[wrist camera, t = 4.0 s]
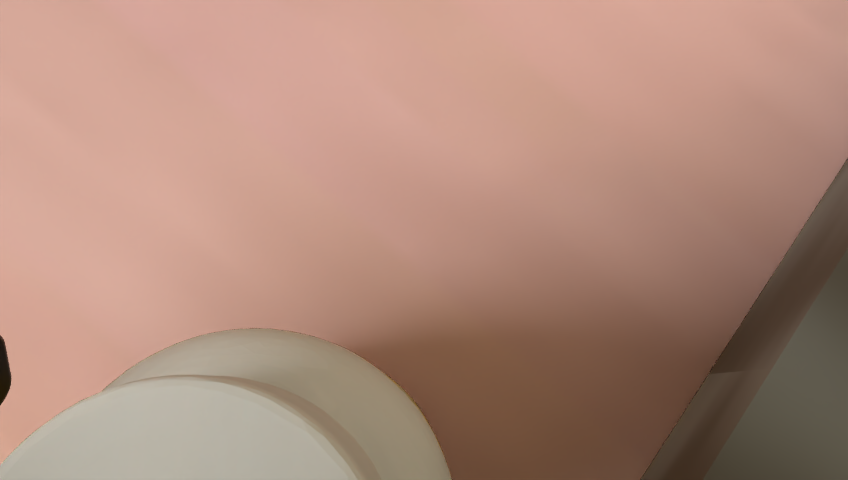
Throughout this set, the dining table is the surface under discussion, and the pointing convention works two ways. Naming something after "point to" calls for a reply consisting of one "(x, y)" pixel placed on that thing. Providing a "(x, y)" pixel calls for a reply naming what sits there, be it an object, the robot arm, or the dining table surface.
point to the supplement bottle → (239, 418)
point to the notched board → (778, 372)
